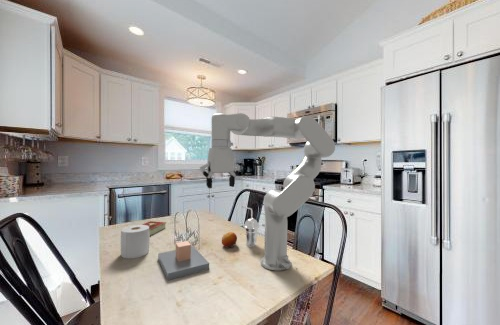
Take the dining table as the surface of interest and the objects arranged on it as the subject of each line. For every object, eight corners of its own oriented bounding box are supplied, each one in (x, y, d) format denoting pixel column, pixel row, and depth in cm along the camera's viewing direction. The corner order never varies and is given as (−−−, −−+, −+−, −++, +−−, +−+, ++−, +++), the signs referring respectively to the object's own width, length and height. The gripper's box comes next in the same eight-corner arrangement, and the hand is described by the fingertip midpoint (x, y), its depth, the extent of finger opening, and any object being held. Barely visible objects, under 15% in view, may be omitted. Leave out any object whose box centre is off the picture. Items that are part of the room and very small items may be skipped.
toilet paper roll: (142, 246, 112) (142, 223, 111) (154, 252, 104) (154, 228, 104) (116, 253, 102) (116, 228, 102) (127, 261, 95) (127, 234, 95)
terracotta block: (190, 259, 92) (190, 244, 92) (178, 261, 90) (178, 247, 90) (187, 254, 96) (187, 240, 96) (175, 257, 94) (175, 243, 94)
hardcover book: (125, 237, 124) (125, 230, 124) (149, 226, 145) (149, 220, 145) (144, 239, 122) (144, 232, 122) (166, 228, 142) (166, 221, 142)
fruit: (238, 246, 108) (230, 232, 109) (225, 253, 110) (217, 239, 111) (242, 241, 116) (234, 227, 117) (229, 247, 118) (222, 234, 118)
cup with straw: (252, 249, 108) (253, 209, 108) (238, 245, 114) (239, 206, 114) (262, 244, 115) (263, 206, 115) (248, 240, 121) (249, 204, 121)
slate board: (209, 269, 89) (209, 263, 89) (167, 280, 80) (167, 273, 80) (193, 251, 106) (193, 246, 106) (158, 259, 97) (158, 253, 97)
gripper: (235, 146, 96) (235, 185, 97) (197, 144, 87) (197, 187, 88) (244, 145, 90) (244, 186, 90) (203, 143, 81) (203, 189, 81)
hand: (221, 187), depth 89 cm, fingers open, 9 cm apart
